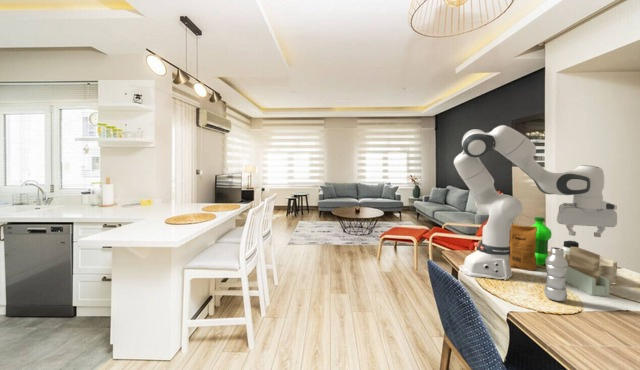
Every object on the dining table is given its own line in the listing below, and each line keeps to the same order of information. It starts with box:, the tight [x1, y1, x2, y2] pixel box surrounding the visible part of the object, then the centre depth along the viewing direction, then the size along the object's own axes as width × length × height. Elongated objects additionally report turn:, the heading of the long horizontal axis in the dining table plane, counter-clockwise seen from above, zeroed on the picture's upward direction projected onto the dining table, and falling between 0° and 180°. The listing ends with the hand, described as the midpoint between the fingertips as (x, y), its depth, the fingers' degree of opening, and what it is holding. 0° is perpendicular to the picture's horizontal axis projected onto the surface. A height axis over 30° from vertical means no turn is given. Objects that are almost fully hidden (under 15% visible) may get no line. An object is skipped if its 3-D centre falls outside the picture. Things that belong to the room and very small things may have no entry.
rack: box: [563, 253, 618, 284], centre depth 126 cm, size 10×18×10 cm, turn 171°
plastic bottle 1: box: [531, 216, 552, 266], centre depth 144 cm, size 10×10×25 cm
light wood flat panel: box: [570, 247, 601, 285], centre depth 114 cm, size 2×12×15 cm, turn 171°
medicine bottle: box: [560, 239, 580, 254], centre depth 145 cm, size 7×7×12 cm
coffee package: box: [509, 223, 537, 271], centre depth 139 cm, size 10×12×22 cm
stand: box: [565, 266, 611, 297], centre depth 115 cm, size 6×17×7 cm, turn 171°
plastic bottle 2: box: [543, 246, 568, 302], centre depth 103 cm, size 6×7×20 cm
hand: (584, 236), depth 114 cm, fingers open, 8 cm apart
